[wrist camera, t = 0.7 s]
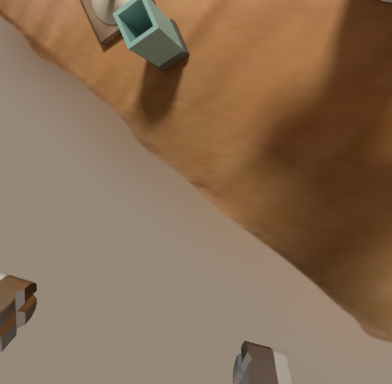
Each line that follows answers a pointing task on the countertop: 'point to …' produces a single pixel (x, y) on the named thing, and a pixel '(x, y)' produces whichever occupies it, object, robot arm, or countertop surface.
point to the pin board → (104, 17)
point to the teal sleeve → (150, 33)
